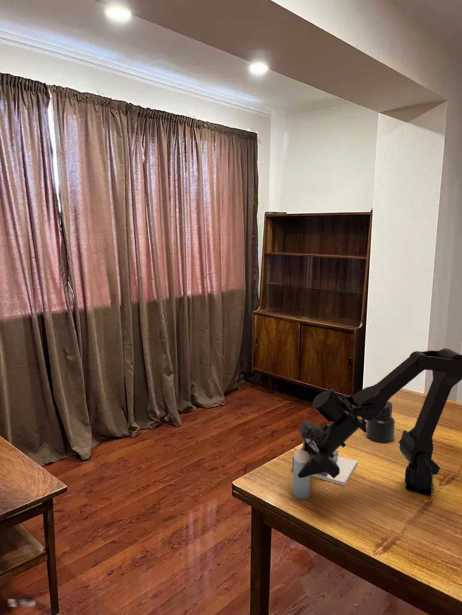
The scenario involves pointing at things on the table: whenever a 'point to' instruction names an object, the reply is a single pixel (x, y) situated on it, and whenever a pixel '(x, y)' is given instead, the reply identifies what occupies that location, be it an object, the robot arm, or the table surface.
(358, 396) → the robot arm
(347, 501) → the table surface
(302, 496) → the ball-topped blue post
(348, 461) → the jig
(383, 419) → the ink bottle
